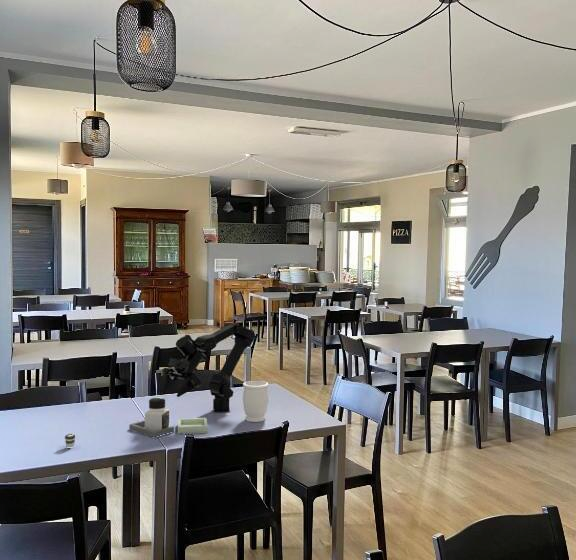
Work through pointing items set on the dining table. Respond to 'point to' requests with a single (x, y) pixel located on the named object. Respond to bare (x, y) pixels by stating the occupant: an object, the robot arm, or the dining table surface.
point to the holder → (139, 428)
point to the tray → (192, 425)
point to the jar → (255, 400)
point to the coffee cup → (70, 440)
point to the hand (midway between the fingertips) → (169, 394)
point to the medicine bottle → (157, 415)
